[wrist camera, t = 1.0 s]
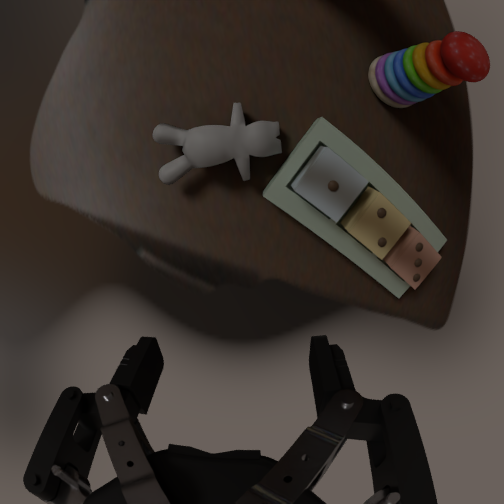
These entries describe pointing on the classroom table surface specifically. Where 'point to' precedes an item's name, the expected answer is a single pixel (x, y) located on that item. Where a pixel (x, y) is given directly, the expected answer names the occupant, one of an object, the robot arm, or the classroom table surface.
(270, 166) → the classroom table surface
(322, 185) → the grey block
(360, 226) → the tile
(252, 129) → the bunny figurine
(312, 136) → the number board
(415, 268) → the tile
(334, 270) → the classroom table surface
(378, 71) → the stacking toy
